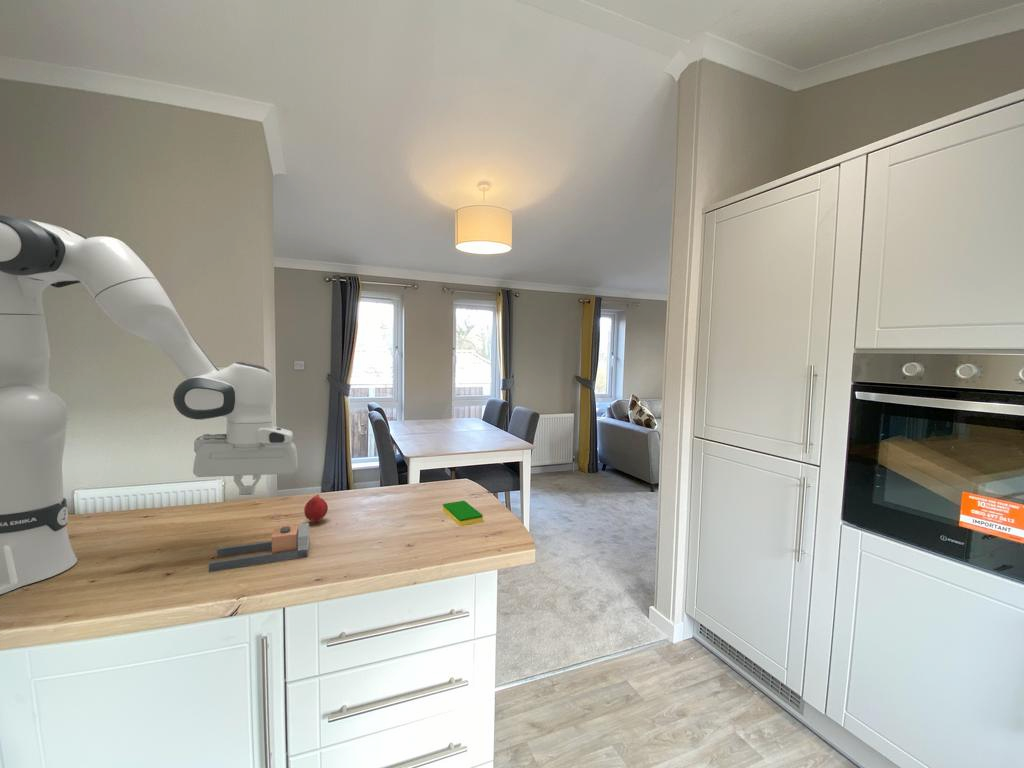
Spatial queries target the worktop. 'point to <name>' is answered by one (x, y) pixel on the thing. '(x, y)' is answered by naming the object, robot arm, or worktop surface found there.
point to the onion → (315, 509)
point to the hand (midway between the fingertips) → (247, 494)
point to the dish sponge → (462, 513)
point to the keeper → (285, 539)
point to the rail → (261, 558)
